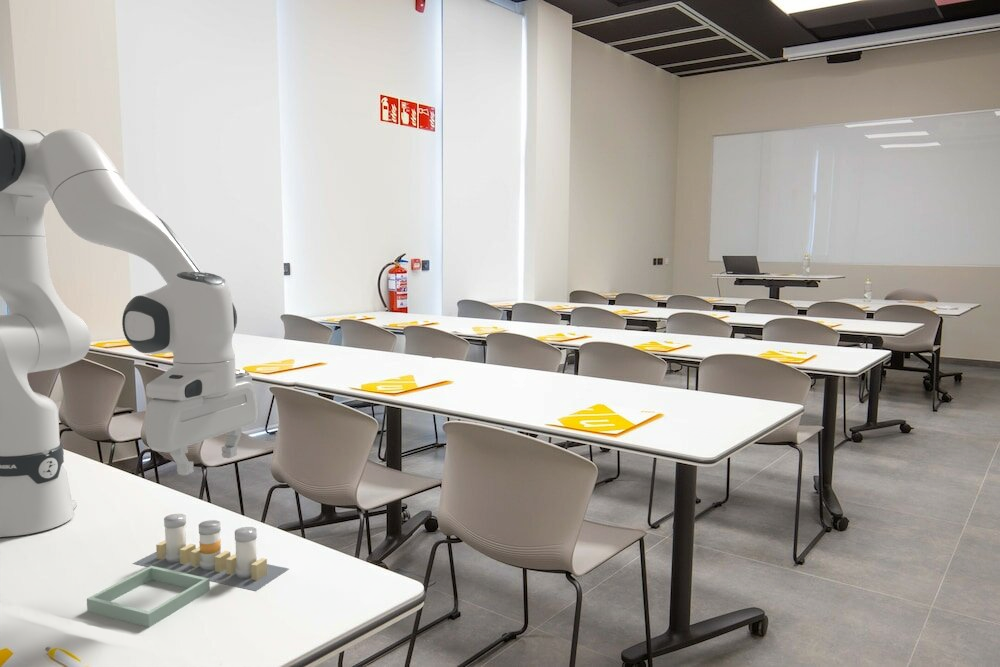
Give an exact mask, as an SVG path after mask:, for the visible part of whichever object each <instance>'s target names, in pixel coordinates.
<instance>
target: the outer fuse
mask: <svg viewBox="0 0 1000 667" xmlns="http://www.w3.org/2000/svg"><path fill="white" fill-rule="evenodd" d="M257 537H258V532H257V527H254V526H243V527H239V528H237V529H235V530H234V541H235V554H236V577H238V578H251V564H252V563H254V562H256V561H257Z"/></svg>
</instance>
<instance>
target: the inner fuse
mask: <svg viewBox="0 0 1000 667" xmlns="http://www.w3.org/2000/svg"><path fill="white" fill-rule="evenodd" d="M186 517H187V516H186V514H184V513H173V514H169V515H168V514H167V515H166V516H165V517H164V518H163V526H164V534H165V536H164V537H165V540H166V553H165V558H166V562H168V563H177V562H180V551H179V549H181V548H183V547H185V546H187V536H186V535H187V534H186V533H187V532H186V524H187V518H186ZM165 540H164V541H165Z"/></svg>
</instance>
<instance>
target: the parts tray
mask: <svg viewBox="0 0 1000 667" xmlns="http://www.w3.org/2000/svg"><path fill="white" fill-rule="evenodd" d="M149 581H156V582H159V583H164V584H169V585H174V586H178V587H182V588H186V589H185V590H183V591H182V592H180V593H178V594H176V595H175V596H173V597H171V598H169V599H168V600H166V601H164V602H163V603H161V604H159V605H158V606H156V607H154V608H152V609H151V610H149V611H148V610H144V609H140V608H138V607H132V606H128V605H125V604H120V603H116V602H113V601H114V600H116V599H117V598H120V597H122V596H123V595H126V594H127V593H129V592H131V591H133V590H134V589H137V588H139V587H140V586H143V585H144V584H146V583H148V582H149ZM210 582H211V581H210V579H209V578H204V577H200V576H195V575H191V574H186V573H182V572H177V571H173V570H168V569H164V568H159V567H155V566H150V567H145V568H144V569H142V570H140V571H138V572H136V573H134V574H132V575H130V576H127V577H126V578H124V579H123V580H121V581H118V582H116V583H115V584H113V585H111V586H109V587H107V588H105V589H103V590H101V591H98V593H95V594H93V595H91V596H89V597H87V598H86V607H87V609H86V612H87V613H93V614H96V615H100V616H103V617H107V618H112V619H114V620H115V619H116V620H119V621H124V622H127V623H131V624H133V625H138V626H143V627H146V628H151V627H153V626H155V625H156V624H157V623H159V622H161V621H162V620H164V619H165V618H167V617H169V616H171V615H173V614H174V613H176V612H177V611H179V610H180V609H182V608H184V607H185V606H187V605H188V604H190V603H192V602H193V601H196V599H199V598H200V597H202V596H203V595H205V594H207V593H208V592H210V591H211V590H210V589H211V587H210Z"/></svg>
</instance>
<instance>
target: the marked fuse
mask: <svg viewBox="0 0 1000 667" xmlns="http://www.w3.org/2000/svg"><path fill="white" fill-rule="evenodd" d="M198 534H199V547H200V569H201V570H205V571H209V570H215V556H217V555H218V554H220V553H222V552H221V549H222V547H221V546H222V544H221V521H219V520H216V519H209V520H204V521H201V522H200V523H199V524H198Z"/></svg>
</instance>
